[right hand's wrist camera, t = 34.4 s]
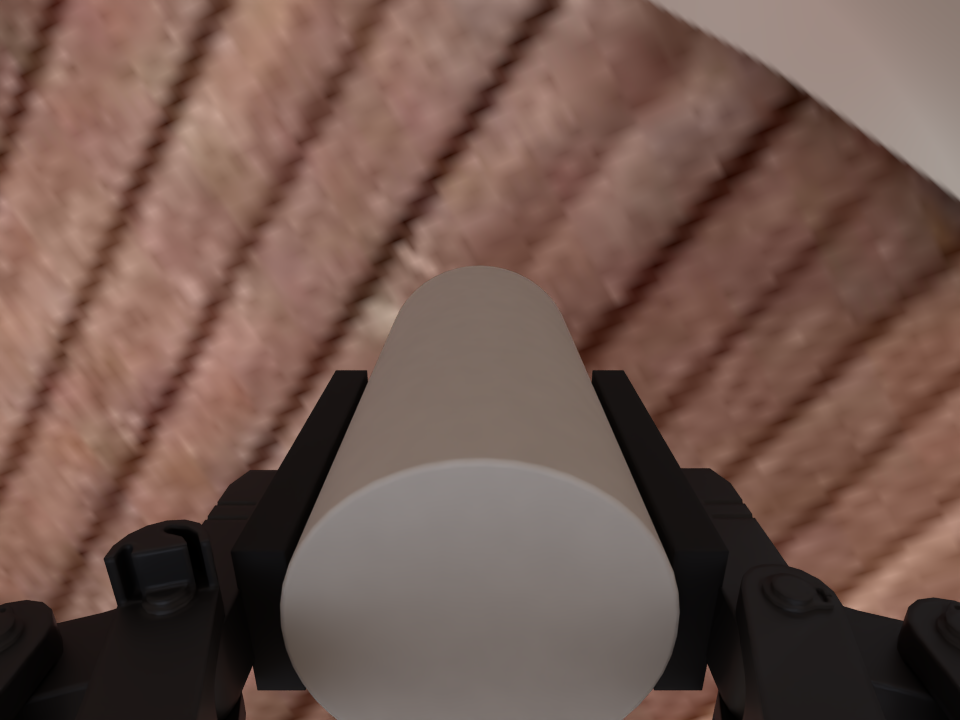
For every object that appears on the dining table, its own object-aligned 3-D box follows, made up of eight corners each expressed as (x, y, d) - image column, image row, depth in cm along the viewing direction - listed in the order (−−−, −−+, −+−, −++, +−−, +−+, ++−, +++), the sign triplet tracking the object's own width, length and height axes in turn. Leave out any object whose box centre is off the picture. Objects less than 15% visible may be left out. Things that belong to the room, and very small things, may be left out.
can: (583, 413, 19) (701, 735, 9) (417, 448, 19) (351, 792, 9) (550, 245, 17) (654, 417, 7) (366, 289, 17) (212, 511, 7)
